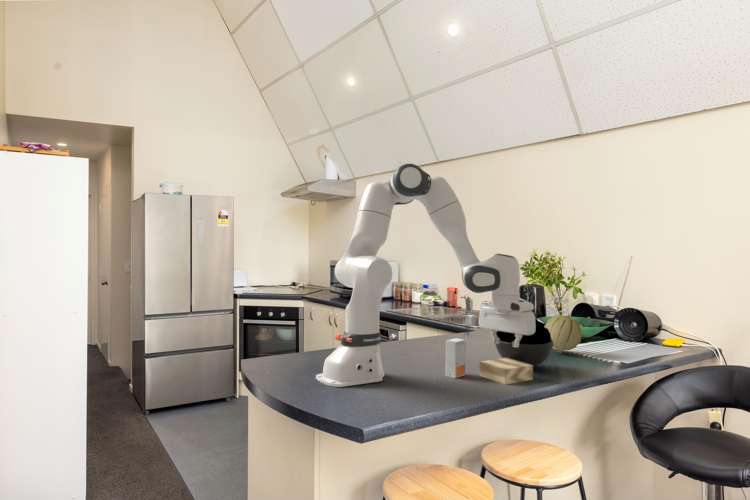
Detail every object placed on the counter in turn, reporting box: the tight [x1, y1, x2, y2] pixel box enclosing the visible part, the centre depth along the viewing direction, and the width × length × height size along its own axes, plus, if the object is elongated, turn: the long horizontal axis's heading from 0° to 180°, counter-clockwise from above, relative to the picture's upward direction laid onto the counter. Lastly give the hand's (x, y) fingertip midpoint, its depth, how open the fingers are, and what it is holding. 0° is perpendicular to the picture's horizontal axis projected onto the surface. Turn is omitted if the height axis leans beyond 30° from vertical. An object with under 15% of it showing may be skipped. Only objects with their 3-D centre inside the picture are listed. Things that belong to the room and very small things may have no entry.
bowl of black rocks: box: [494, 312, 554, 368], centre depth 173 cm, size 20×20×19 cm
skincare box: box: [444, 337, 467, 379], centre depth 161 cm, size 6×4×12 cm
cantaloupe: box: [544, 313, 583, 351], centre depth 202 cm, size 15×15×15 cm
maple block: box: [479, 357, 534, 385], centre depth 159 cm, size 12×12×5 cm
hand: (505, 345), depth 159 cm, fingers open, 6 cm apart
